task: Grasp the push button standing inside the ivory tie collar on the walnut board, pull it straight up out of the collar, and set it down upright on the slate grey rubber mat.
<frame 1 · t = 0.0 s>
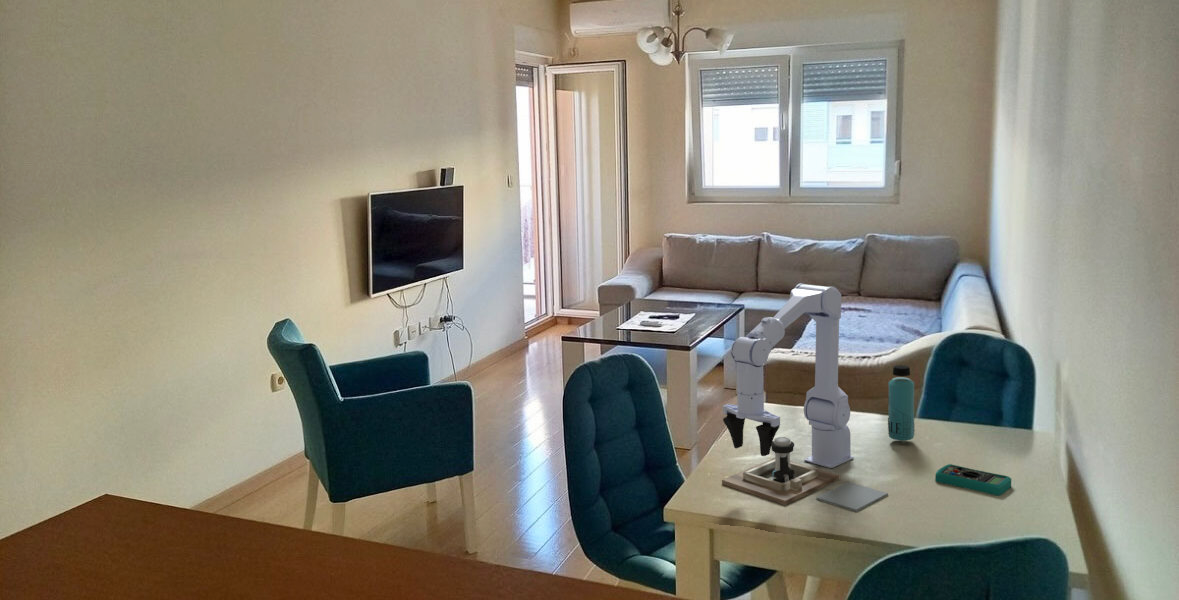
hand: (751, 450, 202), 10 cm above the table, tool pointing down, fingers open, 7 cm apart
tie board: (780, 481, 210), on the table
digital multimeter: (972, 486, 203), on the table
beverage bottle: (900, 443, 232), on the table
push button: (780, 482, 210), on the table
rubber mat: (852, 497, 199), on the table
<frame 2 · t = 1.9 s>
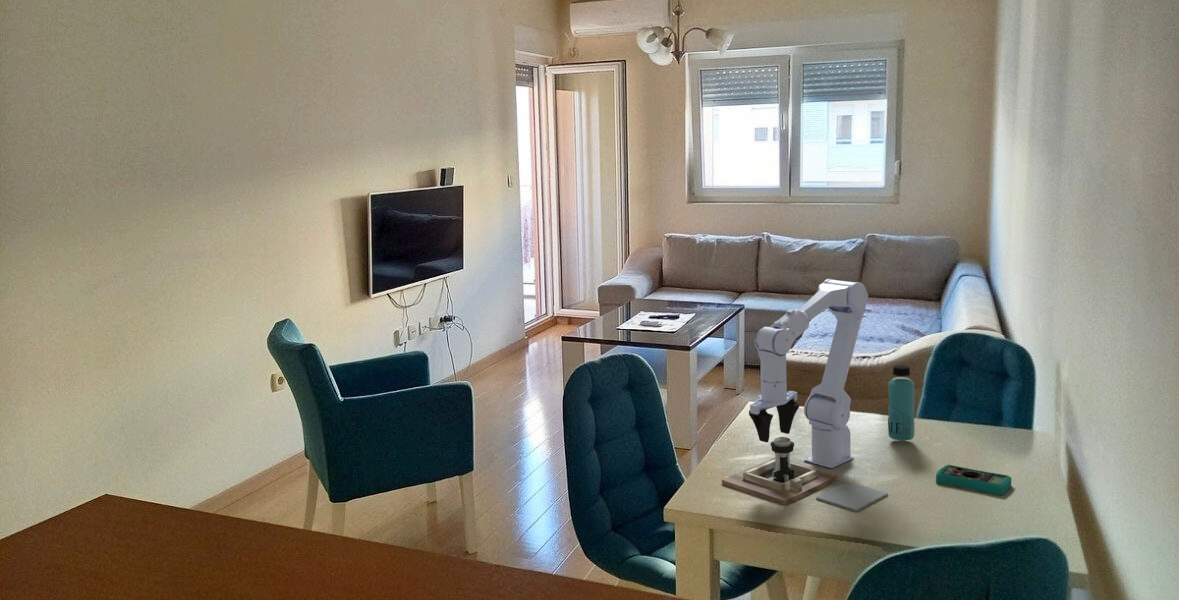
hand: (774, 437, 209), 10 cm above the table, tool pointing down, fingers open, 7 cm apart
nothing on the table moved.
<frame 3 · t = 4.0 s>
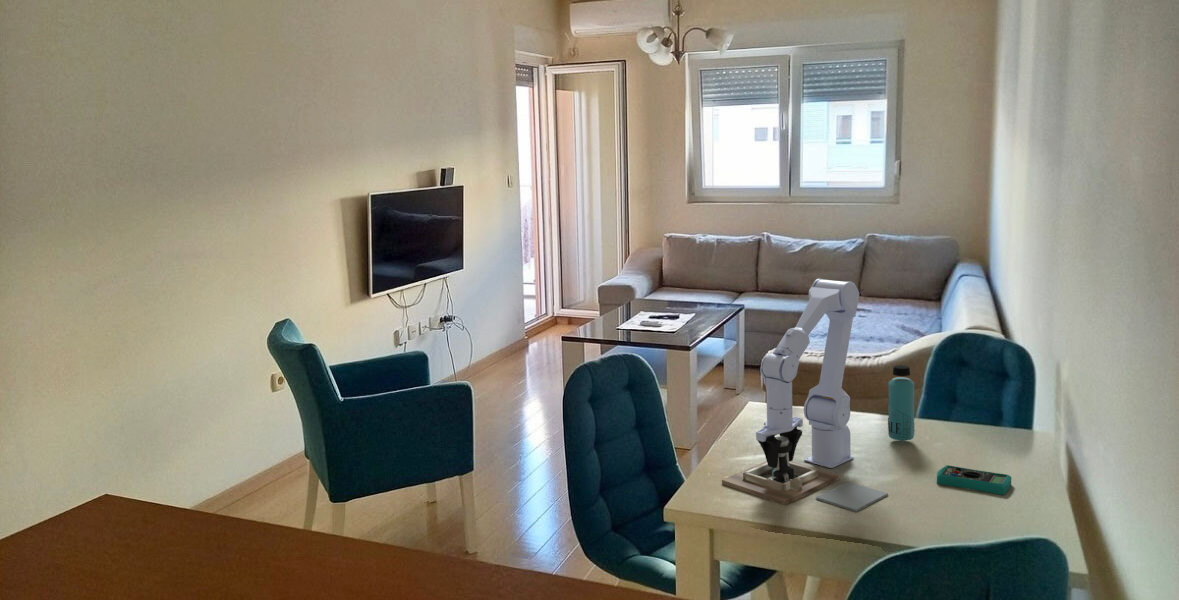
hand: (780, 463, 209), 4 cm above the table, tool pointing down, fingers closed on push button, 5 cm apart
push button: (780, 481, 210), on the table, touching gripper
everything else where it was.
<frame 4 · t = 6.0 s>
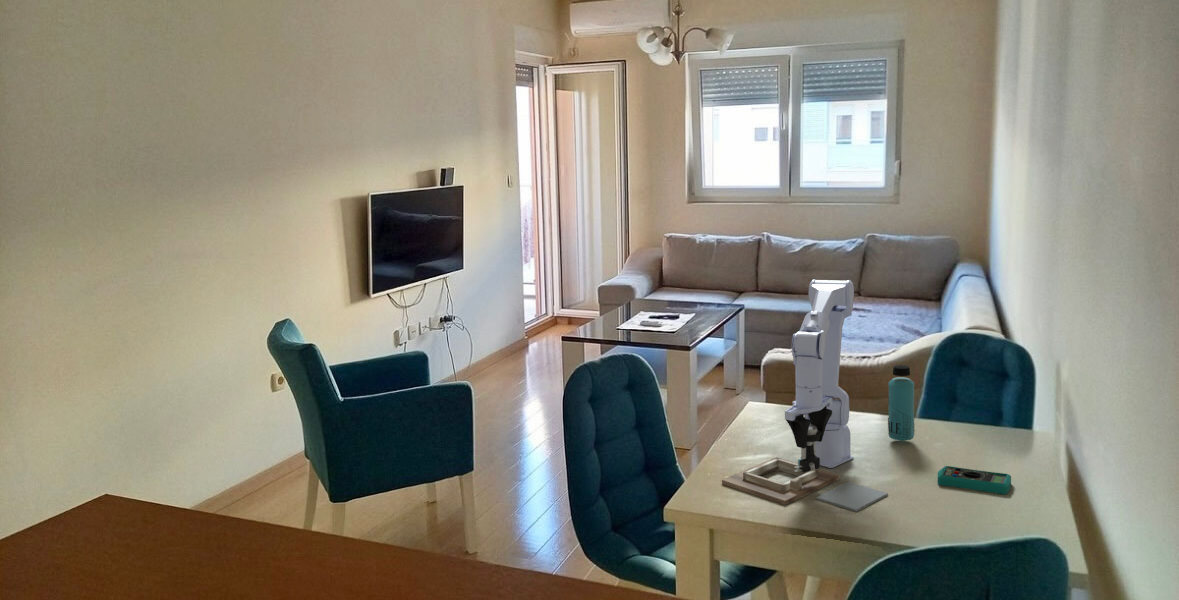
hand: (809, 443, 204), 10 cm above the table, tool pointing down, fingers closed on push button, 5 cm apart
push button: (806, 470, 205), point 4 cm above the table, touching gripper
everything else where it was.
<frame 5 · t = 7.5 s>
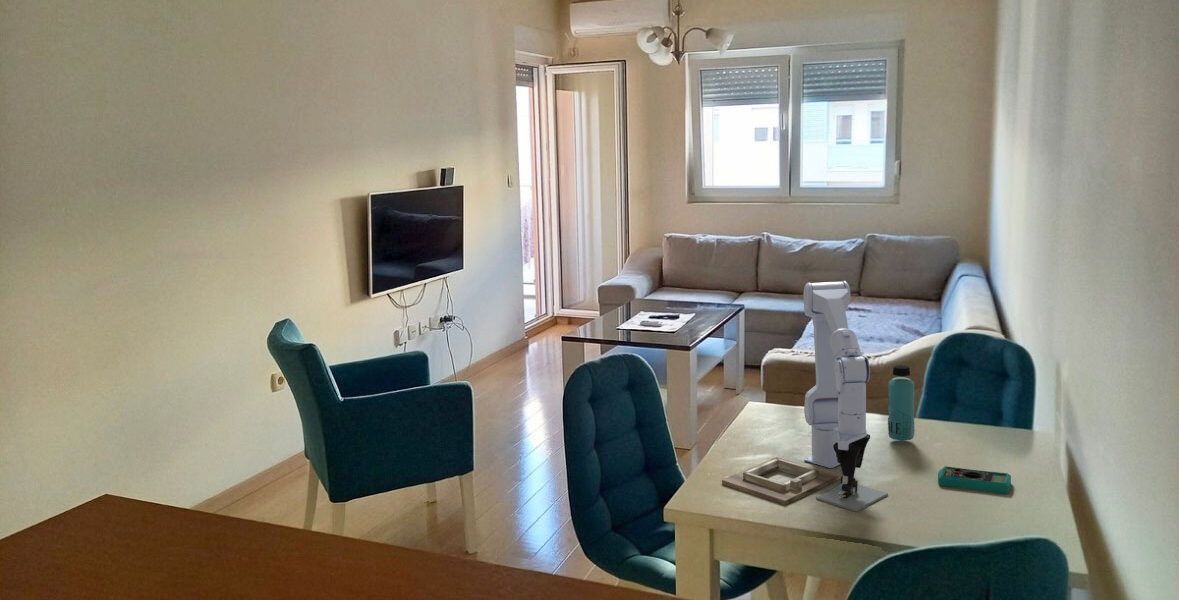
hand: (852, 471, 198), 6 cm above the table, tool pointing down, fingers closed on push button, 5 cm apart
push button: (846, 495, 199), on the table, touching gripper, rubber mat
when the fingers open (6 cm above the table, at t = 8.4 s): push button stays where it is, resting on rubber mat.
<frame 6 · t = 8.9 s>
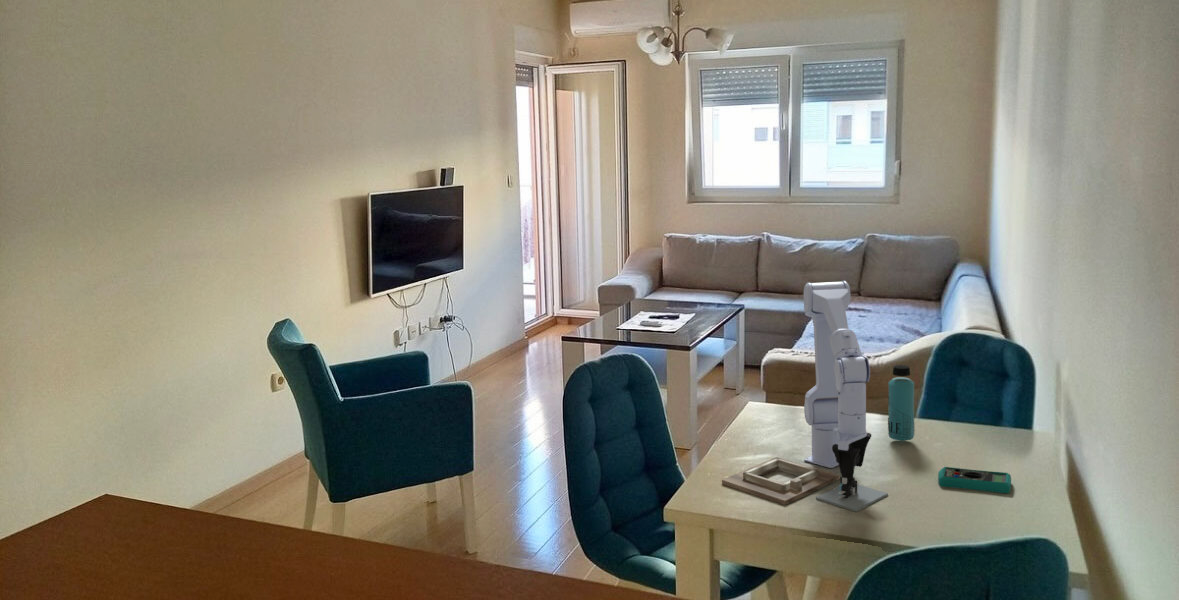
hand: (852, 471, 198), 6 cm above the table, tool pointing down, fingers open, 7 cm apart
push button: (846, 495, 199), resting on rubber mat
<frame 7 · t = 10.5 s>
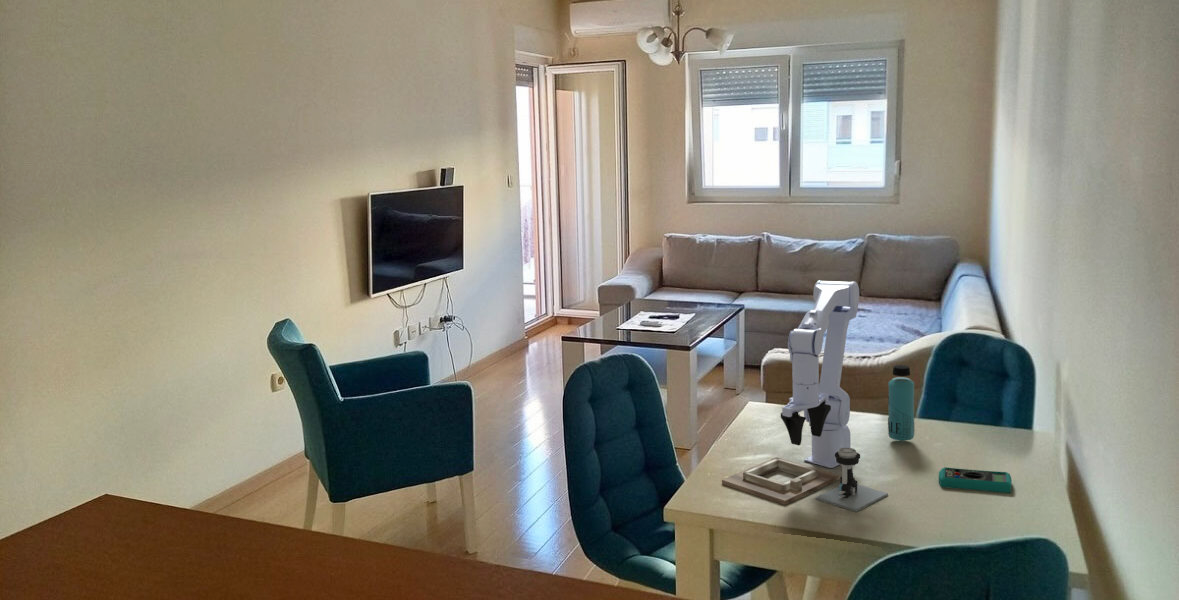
hand: (806, 439, 206), 10 cm above the table, tool pointing down, fingers open, 7 cm apart
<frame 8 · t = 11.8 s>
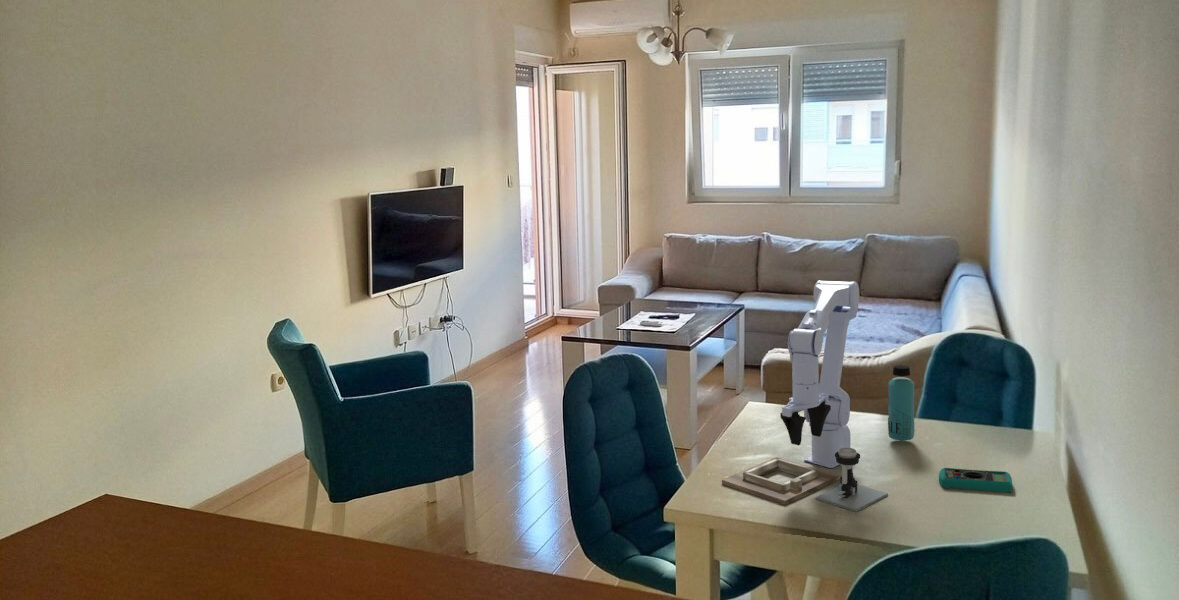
hand: (806, 439, 206), 10 cm above the table, tool pointing down, fingers open, 7 cm apart
at the end: push button 1.2 cm from the target spot, on the table; push button tilted 0°; the gripper is holding nothing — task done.
